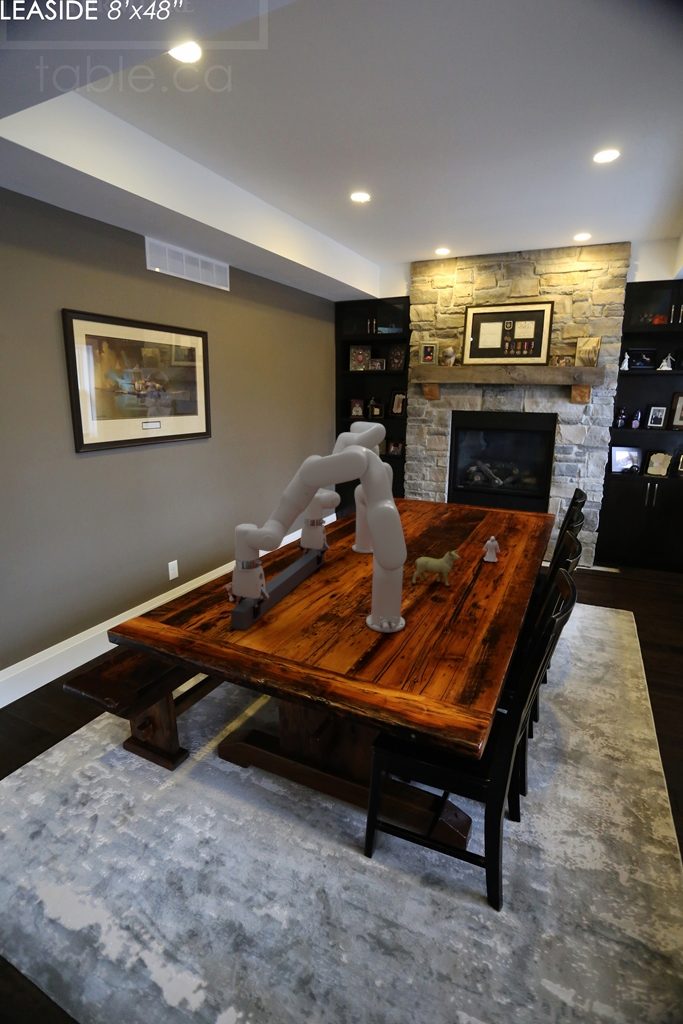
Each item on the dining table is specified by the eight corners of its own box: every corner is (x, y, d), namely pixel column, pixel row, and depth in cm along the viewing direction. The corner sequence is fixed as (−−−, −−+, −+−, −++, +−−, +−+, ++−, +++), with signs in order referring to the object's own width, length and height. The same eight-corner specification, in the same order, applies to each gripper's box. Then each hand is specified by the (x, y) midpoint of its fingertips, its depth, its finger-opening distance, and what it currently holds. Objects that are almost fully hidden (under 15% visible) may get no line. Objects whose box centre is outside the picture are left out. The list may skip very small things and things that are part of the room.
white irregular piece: (231, 609, 179) (216, 592, 179) (241, 599, 183) (227, 583, 182) (239, 604, 173) (224, 587, 172) (250, 595, 177) (235, 577, 176)
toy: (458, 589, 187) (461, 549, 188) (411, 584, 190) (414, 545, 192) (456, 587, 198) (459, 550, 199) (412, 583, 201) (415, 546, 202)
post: (244, 630, 157) (244, 612, 155) (231, 627, 158) (230, 609, 157) (324, 562, 219) (324, 549, 217) (314, 560, 220) (314, 547, 219)
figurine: (481, 562, 222) (483, 536, 219) (482, 556, 230) (484, 531, 227) (499, 564, 220) (501, 538, 217) (499, 558, 228) (501, 533, 225)
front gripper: (277, 562, 160) (277, 614, 164) (230, 555, 165) (232, 606, 170) (265, 570, 153) (266, 624, 157) (217, 563, 158) (220, 615, 163)
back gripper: (335, 521, 209) (334, 563, 213) (298, 517, 214) (298, 557, 219) (329, 526, 202) (328, 568, 206) (290, 522, 207) (291, 563, 212)
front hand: (249, 614), depth 163 cm, fingers closed on post, 5 cm apart
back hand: (313, 562), depth 213 cm, fingers closed on post, 4 cm apart
